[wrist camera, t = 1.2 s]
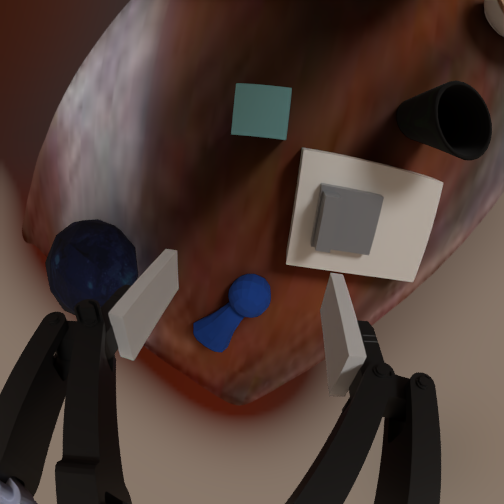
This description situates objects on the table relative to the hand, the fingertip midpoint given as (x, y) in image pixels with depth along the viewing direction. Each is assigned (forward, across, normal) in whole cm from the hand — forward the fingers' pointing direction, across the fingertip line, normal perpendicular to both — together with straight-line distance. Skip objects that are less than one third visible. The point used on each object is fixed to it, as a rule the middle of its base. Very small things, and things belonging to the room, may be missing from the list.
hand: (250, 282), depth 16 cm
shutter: (+16, +9, 0) cm, 19 cm away
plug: (+20, -1, +10) cm, 23 cm away
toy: (+21, -4, -18) cm, 28 cm away
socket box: (+20, +12, 0) cm, 24 cm away
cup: (+21, +17, +14) cm, 30 cm away
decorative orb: (+21, -24, -11) cm, 34 cm away
